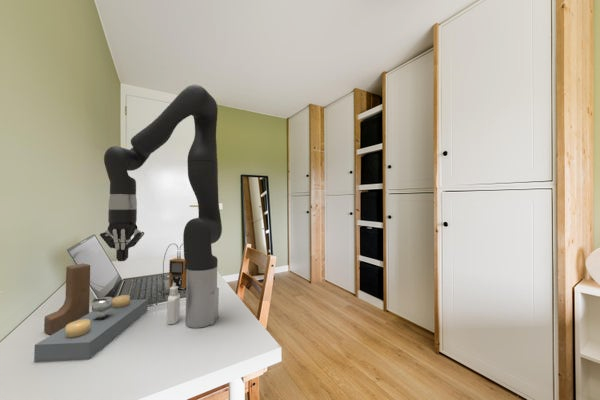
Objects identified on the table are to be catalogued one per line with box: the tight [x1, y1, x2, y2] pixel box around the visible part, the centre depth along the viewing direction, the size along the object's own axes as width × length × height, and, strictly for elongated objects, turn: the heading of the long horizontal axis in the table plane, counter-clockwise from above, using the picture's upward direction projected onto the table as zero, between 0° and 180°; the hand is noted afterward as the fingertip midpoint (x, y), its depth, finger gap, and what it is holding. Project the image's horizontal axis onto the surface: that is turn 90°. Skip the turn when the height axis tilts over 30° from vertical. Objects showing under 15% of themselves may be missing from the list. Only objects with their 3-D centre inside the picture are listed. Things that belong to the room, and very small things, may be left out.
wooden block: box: [43, 263, 91, 336], centre depth 72 cm, size 9×4×18 cm, turn 153°
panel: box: [33, 298, 149, 363], centre depth 69 cm, size 12×26×4 cm, turn 6°
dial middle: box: [91, 296, 114, 320], centre depth 70 cm, size 5×5×6 cm
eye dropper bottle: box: [166, 283, 181, 325], centre depth 76 cm, size 4×6×12 cm
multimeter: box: [162, 243, 187, 288], centre depth 101 cm, size 15×10×20 cm
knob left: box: [66, 319, 90, 338], centre depth 61 cm, size 5×5×6 cm
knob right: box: [112, 294, 131, 308], centre depth 78 cm, size 5×5×6 cm
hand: (122, 260), depth 78 cm, fingers closed
